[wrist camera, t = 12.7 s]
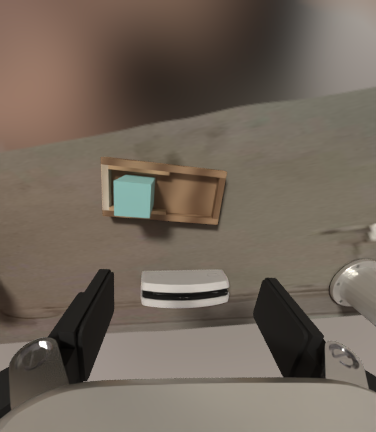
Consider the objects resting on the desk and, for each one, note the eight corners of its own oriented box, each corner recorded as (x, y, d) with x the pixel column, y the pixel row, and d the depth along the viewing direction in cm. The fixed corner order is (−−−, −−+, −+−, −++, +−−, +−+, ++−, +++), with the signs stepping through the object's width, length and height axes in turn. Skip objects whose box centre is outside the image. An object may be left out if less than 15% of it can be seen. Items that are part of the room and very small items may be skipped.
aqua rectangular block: (155, 177, 29) (151, 184, 22) (153, 204, 30) (149, 218, 24) (126, 174, 28) (113, 180, 22) (126, 202, 30) (114, 215, 23)
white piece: (142, 291, 37) (132, 318, 27) (142, 268, 37) (133, 286, 27) (220, 289, 39) (238, 313, 29) (221, 267, 39) (239, 283, 29)
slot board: (222, 170, 31) (227, 171, 28) (214, 219, 34) (217, 224, 31) (106, 156, 28) (100, 157, 26) (107, 211, 31) (102, 215, 29)
